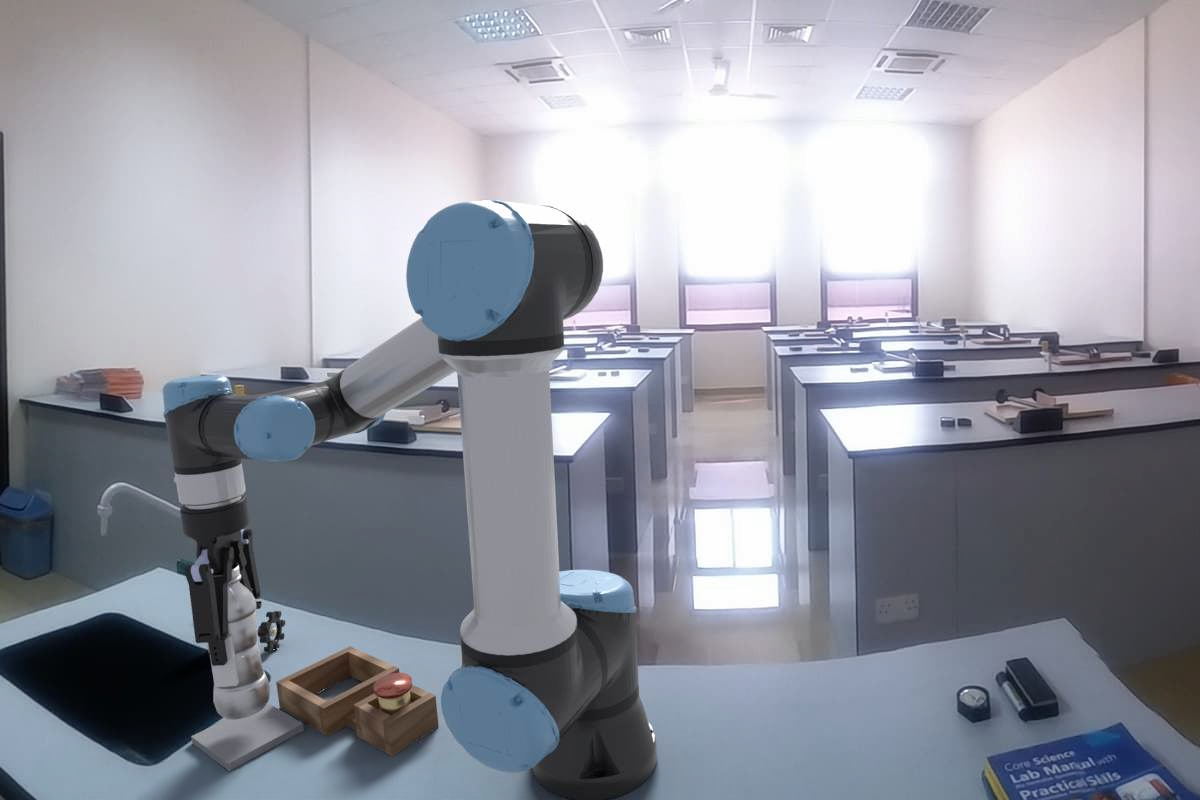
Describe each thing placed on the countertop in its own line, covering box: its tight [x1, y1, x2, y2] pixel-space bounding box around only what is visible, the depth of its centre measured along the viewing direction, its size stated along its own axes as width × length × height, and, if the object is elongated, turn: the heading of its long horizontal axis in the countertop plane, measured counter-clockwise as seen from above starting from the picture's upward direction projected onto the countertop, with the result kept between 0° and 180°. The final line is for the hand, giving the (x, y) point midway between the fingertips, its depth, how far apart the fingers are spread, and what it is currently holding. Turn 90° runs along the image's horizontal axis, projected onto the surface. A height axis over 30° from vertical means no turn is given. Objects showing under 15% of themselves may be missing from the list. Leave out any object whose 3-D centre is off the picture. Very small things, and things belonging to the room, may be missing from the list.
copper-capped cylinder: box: [374, 672, 413, 715], centre depth 100 cm, size 5×5×7 cm
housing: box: [275, 646, 440, 757], centre depth 105 cm, size 23×12×4 cm, turn 52°
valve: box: [207, 610, 286, 653], centre depth 125 cm, size 7×7×12 cm
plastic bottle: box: [212, 563, 271, 720], centre depth 99 cm, size 6×7×20 cm
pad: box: [190, 701, 305, 772], centre depth 101 cm, size 10×10×1 cm
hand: (238, 670), depth 100 cm, fingers closed on plastic bottle, 6 cm apart
